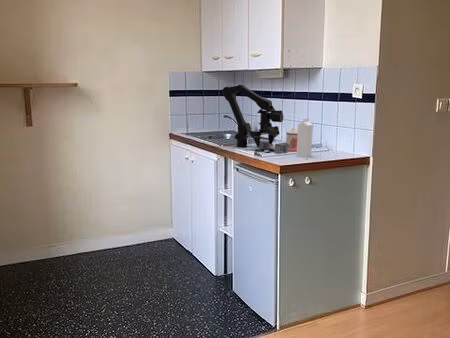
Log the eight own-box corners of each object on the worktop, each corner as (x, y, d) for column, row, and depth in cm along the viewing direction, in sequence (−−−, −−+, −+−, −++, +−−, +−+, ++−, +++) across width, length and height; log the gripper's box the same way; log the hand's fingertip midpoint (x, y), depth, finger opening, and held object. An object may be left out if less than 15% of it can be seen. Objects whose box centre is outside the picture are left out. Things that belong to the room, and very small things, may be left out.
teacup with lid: (290, 147, 291) (291, 129, 288) (282, 145, 299) (283, 127, 296) (306, 146, 296) (307, 128, 293) (298, 144, 304) (299, 126, 301)
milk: (310, 158, 259) (313, 118, 254) (305, 159, 254) (308, 119, 249) (301, 156, 262) (304, 117, 258) (295, 158, 258) (298, 118, 253)
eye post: (274, 153, 264) (274, 144, 263) (284, 152, 269) (285, 143, 267) (277, 154, 262) (277, 144, 261) (287, 152, 267) (288, 143, 266)
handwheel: (292, 152, 267) (293, 140, 266) (279, 150, 273) (280, 139, 271) (303, 149, 276) (303, 138, 274) (290, 148, 281) (290, 137, 280)
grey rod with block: (259, 148, 278) (259, 141, 277) (264, 147, 280) (264, 140, 279) (276, 152, 266) (276, 144, 265) (281, 151, 268) (281, 144, 267)
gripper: (261, 123, 262) (260, 150, 265) (286, 121, 273) (285, 148, 276) (249, 121, 271) (248, 147, 274) (273, 119, 281) (272, 145, 285)
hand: (264, 147), depth 277 cm, fingers open, 9 cm apart
